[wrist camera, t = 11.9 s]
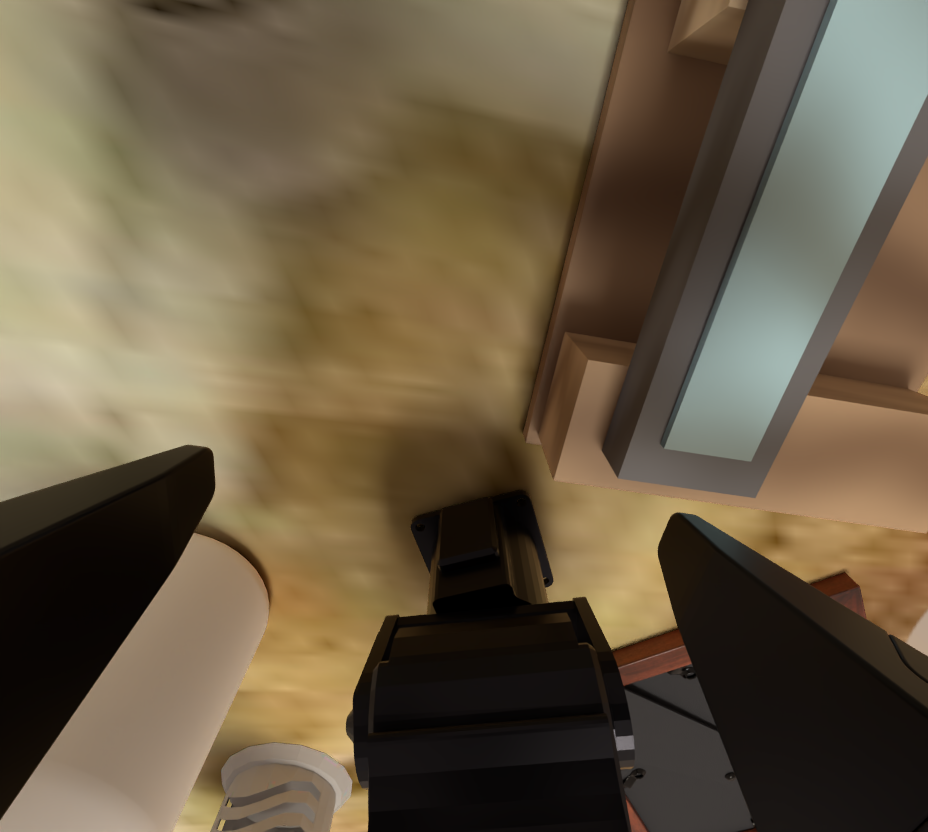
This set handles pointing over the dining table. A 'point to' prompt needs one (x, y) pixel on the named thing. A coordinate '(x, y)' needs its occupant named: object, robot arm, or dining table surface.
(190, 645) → the wine bottle
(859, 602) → the picture frame
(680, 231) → the picture frame
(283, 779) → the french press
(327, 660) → the dining table surface
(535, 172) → the dining table surface
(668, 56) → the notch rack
